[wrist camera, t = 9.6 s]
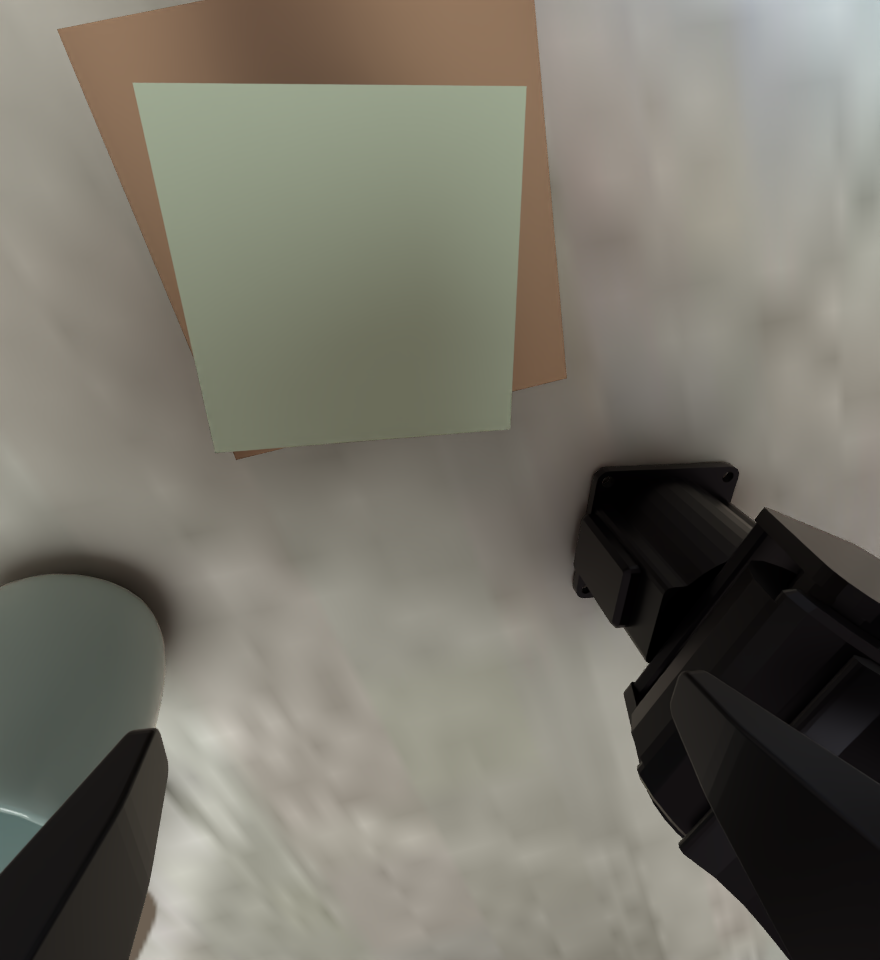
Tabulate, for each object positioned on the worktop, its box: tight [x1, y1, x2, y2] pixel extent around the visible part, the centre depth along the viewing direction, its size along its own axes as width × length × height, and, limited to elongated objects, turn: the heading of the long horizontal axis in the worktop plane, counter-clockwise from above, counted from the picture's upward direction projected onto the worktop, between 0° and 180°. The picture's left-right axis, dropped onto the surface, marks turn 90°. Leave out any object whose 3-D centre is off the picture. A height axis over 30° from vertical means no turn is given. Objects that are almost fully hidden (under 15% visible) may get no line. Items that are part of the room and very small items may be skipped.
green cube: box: [133, 83, 527, 453], centre depth 11 cm, size 5×5×5 cm
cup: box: [0, 574, 166, 873], centre depth 18 cm, size 8×8×10 cm
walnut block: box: [57, 0, 567, 460], centre depth 15 cm, size 9×9×6 cm
